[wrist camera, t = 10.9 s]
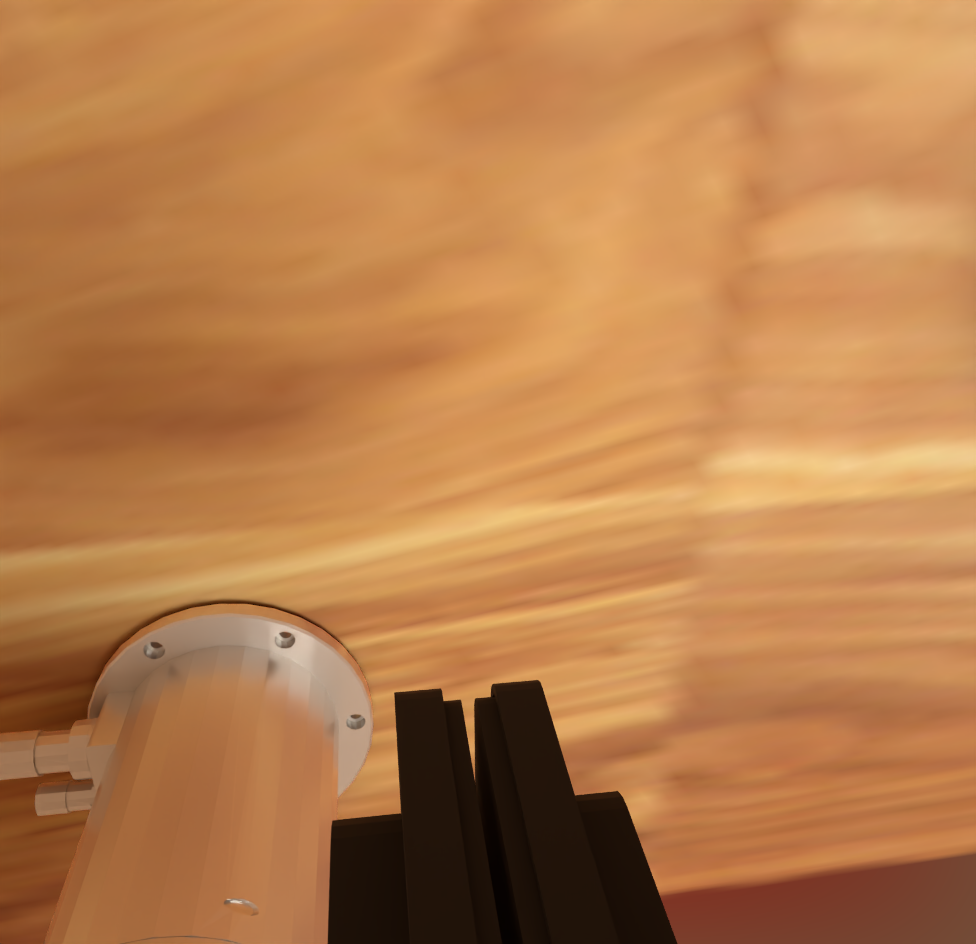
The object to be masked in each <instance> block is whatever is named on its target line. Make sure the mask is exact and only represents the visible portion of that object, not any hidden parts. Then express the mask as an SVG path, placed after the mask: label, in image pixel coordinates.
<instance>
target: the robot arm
mask: <svg viewBox="0 0 976 944" xmlns="http://www.w3.org/2000/svg"><path fill="white" fill-rule="evenodd" d="M394 695H395V713H396V731H397V749H398V766H399V784H400V801H401V814H391V815H381V816H372V817H362V818H352V819H342V820H337V800H338V798H339V797H340V795H341V794H342V793H343V792H344V791H345V790H346V789H347V788H348V787H349V786H350V785H351V784H352V783H353V781H354V780H355V778H356V776H357V775H358V773H359V772H360V770H361V768H362V767H363V765H364V763H365V760H366V758H367V755H368V752H369V749H370V746H371V741H372V732H373V707H372V700H371V696H370V692H369V688H368V684H367V681H366V679H365V677H364V675H363V673H362V671H361V670H360V668H359V666H358V664H357V662H356V661H355V660H354V659H353V657H352V656H351V655H350V654H349V653H348V651H347V650H346V649H345V648H344V647H343V645H342V644H340V643H339V642H338V641H337V640H335V639H334V638H333V637H332V636H330V635H329V634H328V633H327V632H325V631H324V630H323V629H321V628H319V627H317V626H316V625H314V624H312V623H310V622H308V621H306V620H304V619H303V618H301V617H298V616H295V615H292V614H289V613H286V612H283V611H280V610H277V609H274V608H268V607H262V606H256V605H250V604H214V605H207V606H201V607H194V608H189V609H186V610H183V611H180V612H177V613H174V614H171V615H168V616H165V617H163V618H161V619H159V620H157V621H155V622H153V623H152V624H150V625H148V626H146V627H144V628H142V629H141V630H139V631H138V632H137V633H136V634H134V635H133V636H132V637H131V638H129V639H128V640H127V641H126V642H125V643H123V644H122V645H121V646H120V647H119V648H118V650H117V651H116V652H115V653H114V655H113V656H112V657H111V658H110V660H109V661H108V662H107V663H106V665H105V667H104V669H103V671H102V673H101V675H100V677H99V679H98V681H97V683H96V685H95V688H94V691H93V694H92V697H91V700H90V703H89V706H88V715H87V719H82V720H76V721H75V723H74V724H73V726H72V728H71V729H70V730H58V731H47V732H45V731H44V730H31V731H20V732H8V733H0V780H8V779H18V778H29V777H40V776H43V775H44V774H50V773H61V772H70V773H71V775H72V777H73V779H75V780H86V779H93V780H86V781H76V782H73V781H59V782H49V783H40V784H39V786H38V787H37V791H36V794H35V810H36V813H37V815H38V816H46V815H56V814H66V813H71V812H72V811H81V810H90V813H89V815H88V818H87V821H86V824H85V827H84V830H83V832H82V835H81V838H80V841H79V844H78V847H77V849H76V852H75V855H74V858H73V861H72V864H71V866H70V869H69V872H68V875H67V878H66V881H65V884H64V886H63V889H62V892H61V895H60V898H59V901H58V903H57V906H56V909H55V912H54V915H53V918H52V920H51V923H50V926H49V929H48V932H47V935H46V937H45V940H44V943H43V944H677V942H676V939H675V936H674V933H673V931H672V928H671V925H670V923H669V920H668V917H667V914H666V911H665V909H664V906H663V903H662V901H661V898H660V895H659V892H658V890H657V887H656V884H655V882H654V879H653V876H652V873H651V871H650V868H649V865H648V862H647V860H646V857H645V854H644V852H643V849H642V846H641V843H640V841H639V838H638V835H637V832H636V830H635V827H634V824H633V822H632V819H631V816H630V813H629V811H628V808H627V806H626V803H625V801H624V799H623V797H622V796H621V794H620V793H619V792H618V791H615V792H605V793H595V794H585V795H576V796H575V794H574V791H573V788H572V784H571V781H570V778H569V774H568V771H567V768H566V764H565V761H564V758H563V755H562V751H561V748H560V745H559V741H558V738H557V735H556V731H555V728H554V725H553V721H552V718H551V715H550V711H549V708H548V705H547V701H546V698H545V695H544V691H543V688H542V686H541V683H540V681H539V680H534V681H522V682H511V683H499V684H493V685H492V687H491V697H487V698H476V699H475V703H474V717H475V780H474V774H473V768H472V762H471V756H470V750H469V744H468V738H467V732H466V726H465V720H464V714H463V708H462V703H461V700H453V701H443V695H442V690H441V689H430V690H419V691H407V692H396V693H394Z"/></svg>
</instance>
